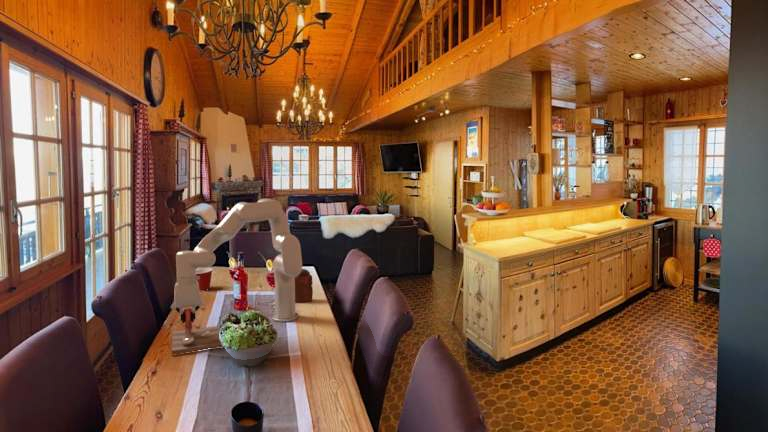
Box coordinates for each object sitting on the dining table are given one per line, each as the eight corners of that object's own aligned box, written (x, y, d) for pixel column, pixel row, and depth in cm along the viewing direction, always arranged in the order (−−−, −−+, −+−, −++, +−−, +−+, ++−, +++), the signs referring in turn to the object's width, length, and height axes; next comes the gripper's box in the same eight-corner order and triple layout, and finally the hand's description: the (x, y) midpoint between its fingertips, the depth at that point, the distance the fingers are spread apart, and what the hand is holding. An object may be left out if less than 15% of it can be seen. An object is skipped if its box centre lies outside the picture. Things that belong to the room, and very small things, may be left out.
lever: (183, 331, 195) (182, 308, 194) (193, 330, 197) (192, 307, 195) (183, 346, 179) (181, 321, 178) (193, 344, 181) (192, 320, 179)
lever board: (172, 336, 196) (172, 331, 195) (219, 330, 204) (219, 325, 203) (172, 355, 176) (171, 350, 176) (223, 348, 184) (223, 342, 183)
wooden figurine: (311, 298, 253) (311, 267, 251) (312, 302, 247) (312, 269, 245) (290, 300, 250) (289, 268, 248) (291, 303, 244) (290, 271, 242)
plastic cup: (193, 288, 273) (192, 268, 271) (212, 286, 277) (212, 267, 276) (194, 292, 263) (193, 272, 262) (214, 290, 268) (213, 270, 266)
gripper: (207, 276, 198) (208, 316, 200) (165, 279, 192) (167, 321, 194) (207, 280, 192) (208, 322, 194) (164, 283, 185) (166, 327, 187)
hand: (188, 321), depth 194 cm, fingers closed on lever, 3 cm apart
